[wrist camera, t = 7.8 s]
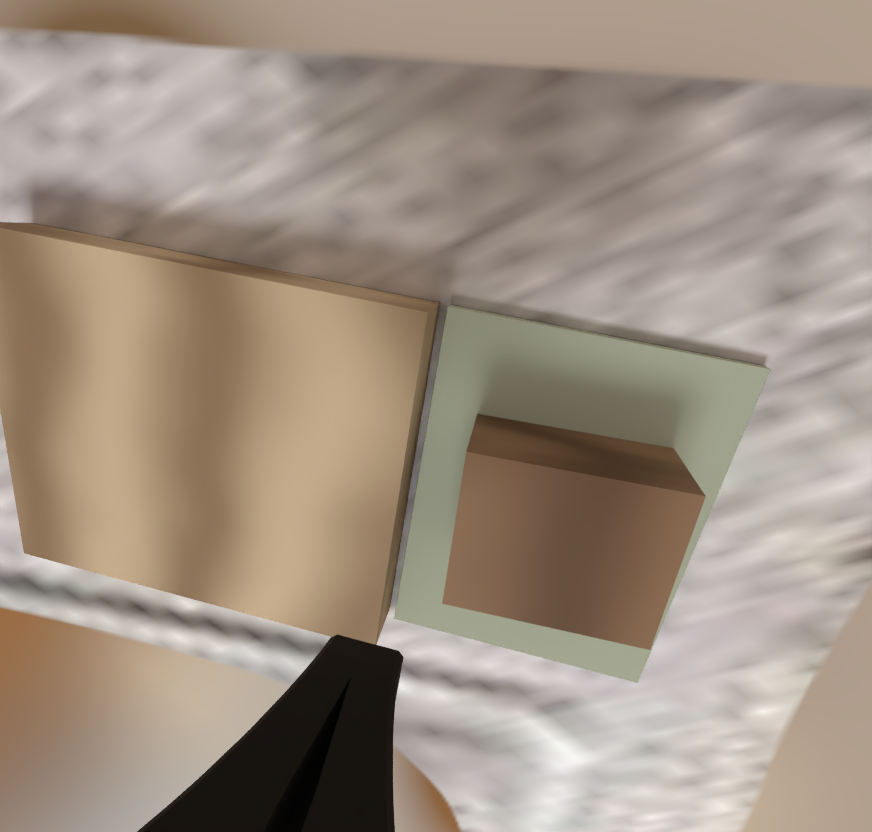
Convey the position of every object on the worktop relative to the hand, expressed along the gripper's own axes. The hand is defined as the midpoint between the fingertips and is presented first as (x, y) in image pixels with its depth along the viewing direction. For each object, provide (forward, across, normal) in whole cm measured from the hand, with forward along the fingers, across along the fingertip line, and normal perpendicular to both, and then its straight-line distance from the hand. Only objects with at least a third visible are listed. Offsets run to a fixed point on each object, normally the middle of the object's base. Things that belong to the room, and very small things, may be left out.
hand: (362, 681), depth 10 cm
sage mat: (+8, -4, 0) cm, 9 cm away
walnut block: (+8, -4, 0) cm, 9 cm away
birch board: (+8, +8, 0) cm, 12 cm away
